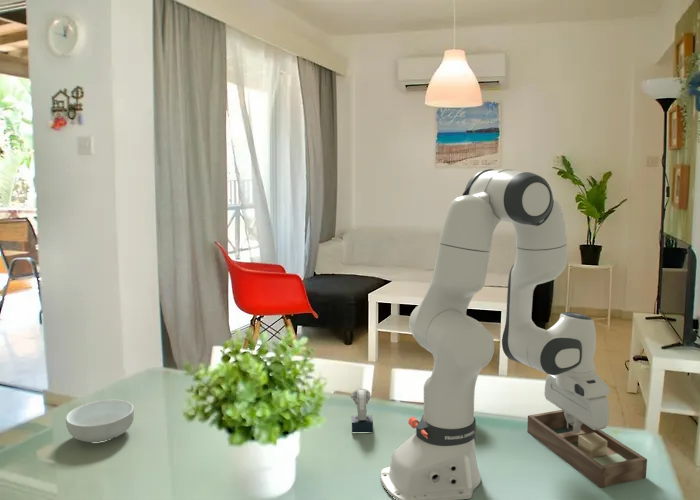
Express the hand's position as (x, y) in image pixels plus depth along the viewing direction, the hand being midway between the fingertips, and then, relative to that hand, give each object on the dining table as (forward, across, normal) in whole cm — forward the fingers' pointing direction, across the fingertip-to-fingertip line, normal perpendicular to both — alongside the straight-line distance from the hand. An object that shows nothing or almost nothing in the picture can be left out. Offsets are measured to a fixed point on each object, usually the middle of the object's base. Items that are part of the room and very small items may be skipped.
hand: (573, 430), depth 151 cm
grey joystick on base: (+4, -26, -46) cm, 53 cm away
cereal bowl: (+3, -46, -112) cm, 121 cm away
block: (+2, +7, 0) cm, 8 cm away
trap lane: (+4, +4, 0) cm, 6 cm away
